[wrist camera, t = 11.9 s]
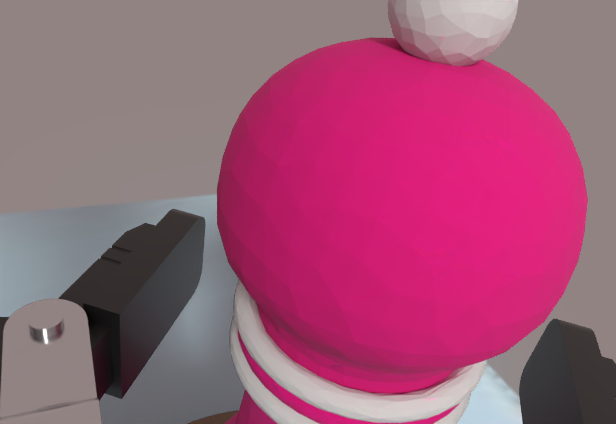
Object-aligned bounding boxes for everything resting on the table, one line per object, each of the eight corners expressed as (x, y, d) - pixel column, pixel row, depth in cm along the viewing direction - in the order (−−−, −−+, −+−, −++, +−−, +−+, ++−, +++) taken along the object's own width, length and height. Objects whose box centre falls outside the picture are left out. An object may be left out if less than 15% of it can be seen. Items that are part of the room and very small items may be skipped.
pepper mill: (238, 465, 22) (334, -104, 11) (407, 564, 19) (725, -21, 9) (107, 660, 16) (41, -141, 5) (327, 832, 14) (958, 67, 3)
